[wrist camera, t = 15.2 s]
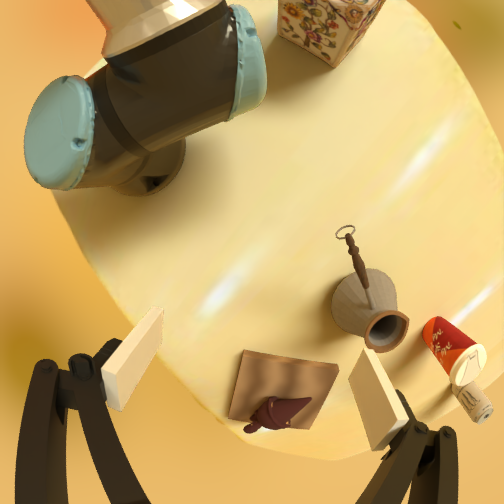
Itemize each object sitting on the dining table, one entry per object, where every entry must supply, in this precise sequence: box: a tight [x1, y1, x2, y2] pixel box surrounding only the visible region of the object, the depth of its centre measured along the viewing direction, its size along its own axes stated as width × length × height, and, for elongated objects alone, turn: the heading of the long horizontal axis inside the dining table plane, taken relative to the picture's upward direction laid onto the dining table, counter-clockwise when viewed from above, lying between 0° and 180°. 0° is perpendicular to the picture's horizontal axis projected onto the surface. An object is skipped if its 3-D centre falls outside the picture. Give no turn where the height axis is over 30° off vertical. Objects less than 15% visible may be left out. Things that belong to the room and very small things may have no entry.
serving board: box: [228, 350, 339, 430], centre depth 48 cm, size 18×18×2 cm
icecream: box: [243, 396, 312, 433], centre depth 44 cm, size 7×7×15 cm
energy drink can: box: [452, 381, 493, 424], centre depth 40 cm, size 6×6×15 cm
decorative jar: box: [277, 0, 386, 68], centre depth 24 cm, size 12×12×18 cm
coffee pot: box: [331, 225, 409, 353], centre depth 35 cm, size 21×12×15 cm, turn 31°
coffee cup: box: [422, 316, 487, 386], centre depth 37 cm, size 8×8×15 cm
